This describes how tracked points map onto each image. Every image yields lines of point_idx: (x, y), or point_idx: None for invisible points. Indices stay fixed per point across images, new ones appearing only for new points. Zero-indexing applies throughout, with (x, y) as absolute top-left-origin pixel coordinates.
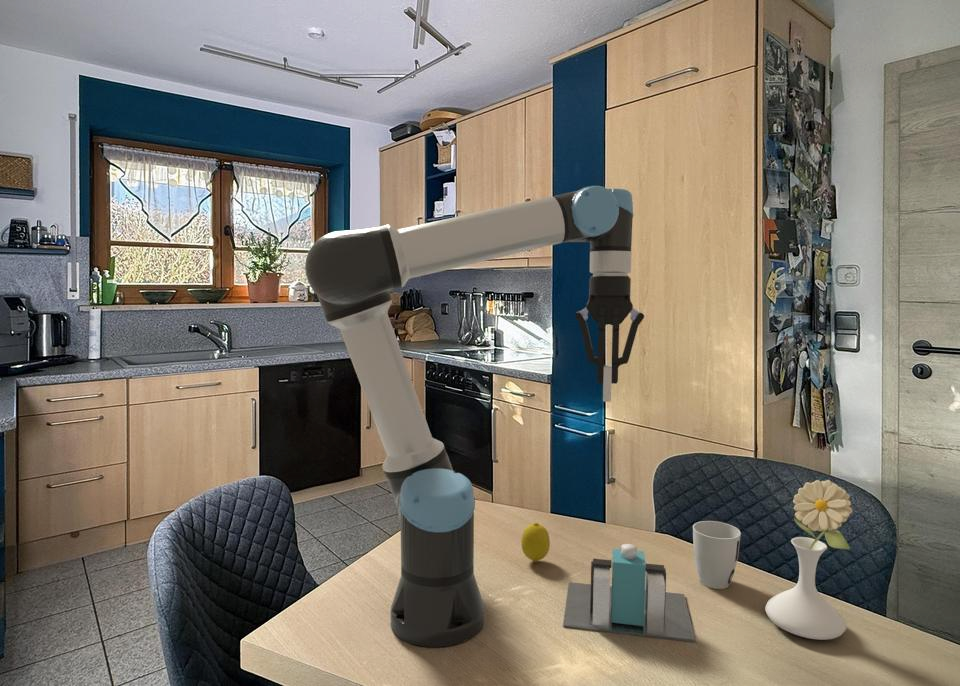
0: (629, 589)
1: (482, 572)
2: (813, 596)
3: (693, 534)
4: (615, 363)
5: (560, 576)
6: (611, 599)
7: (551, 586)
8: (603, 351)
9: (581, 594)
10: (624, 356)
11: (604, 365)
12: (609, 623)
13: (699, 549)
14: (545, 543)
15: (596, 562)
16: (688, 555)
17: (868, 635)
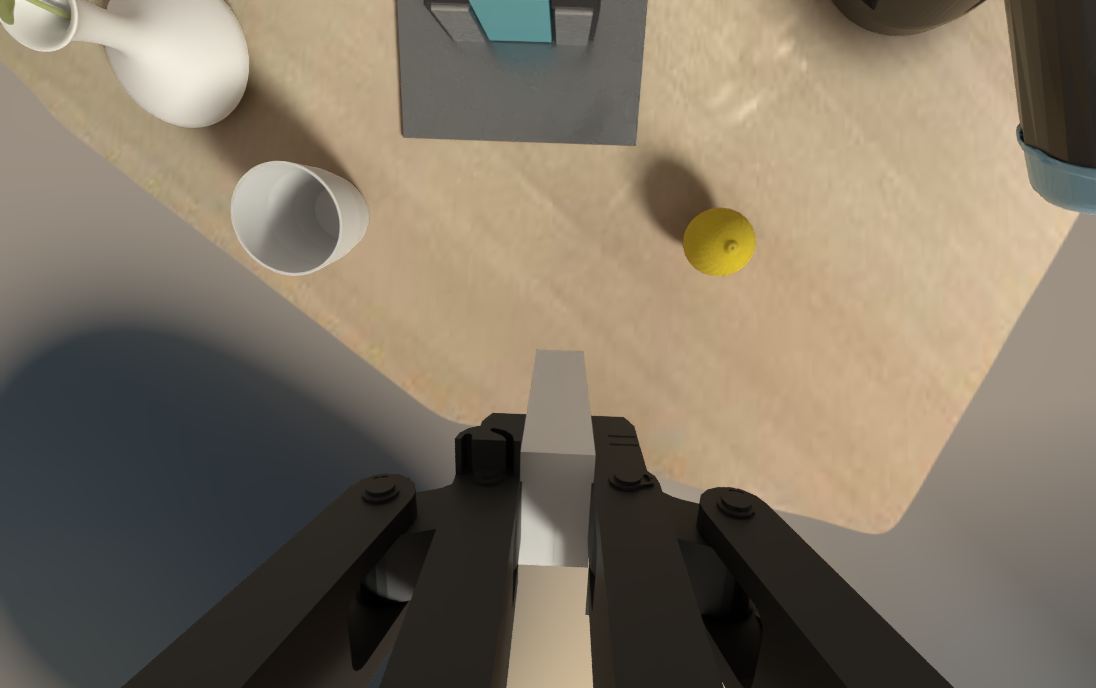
0: None
1: (822, 166)
2: (124, 12)
3: (346, 215)
4: (482, 472)
5: (651, 179)
6: (551, 24)
7: (671, 129)
8: (615, 564)
9: (610, 93)
10: (371, 522)
11: (582, 552)
12: None
13: (343, 188)
14: (697, 221)
15: None
16: (384, 324)
17: (85, 46)
